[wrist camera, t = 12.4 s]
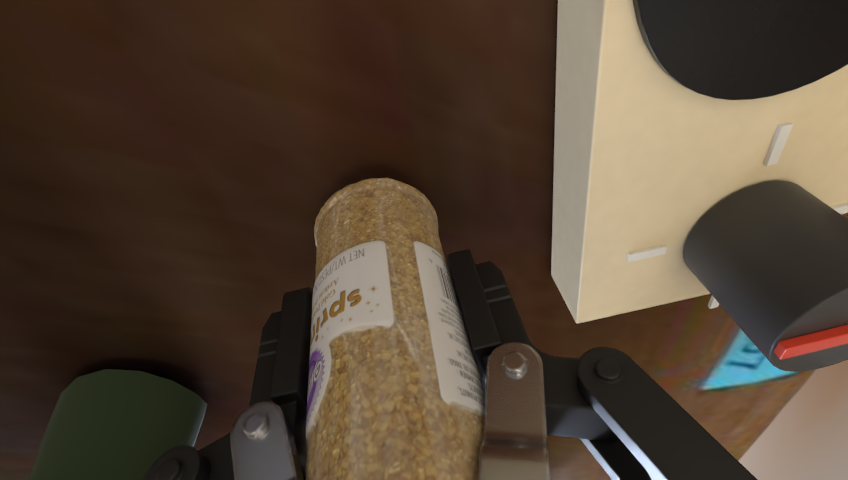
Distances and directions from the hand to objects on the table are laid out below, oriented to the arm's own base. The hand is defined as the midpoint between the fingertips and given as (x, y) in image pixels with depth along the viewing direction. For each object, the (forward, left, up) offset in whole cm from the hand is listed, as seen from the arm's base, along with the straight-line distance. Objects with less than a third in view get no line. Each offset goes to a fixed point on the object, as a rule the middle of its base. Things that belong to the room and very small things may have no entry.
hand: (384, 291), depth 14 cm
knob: (-2, -13, -1) cm, 13 cm away
